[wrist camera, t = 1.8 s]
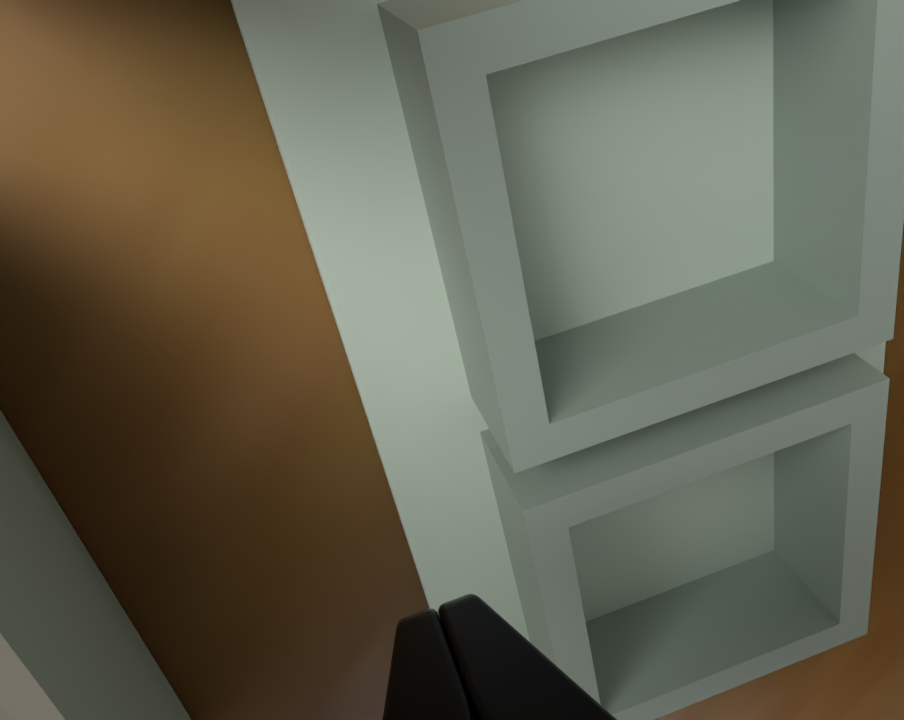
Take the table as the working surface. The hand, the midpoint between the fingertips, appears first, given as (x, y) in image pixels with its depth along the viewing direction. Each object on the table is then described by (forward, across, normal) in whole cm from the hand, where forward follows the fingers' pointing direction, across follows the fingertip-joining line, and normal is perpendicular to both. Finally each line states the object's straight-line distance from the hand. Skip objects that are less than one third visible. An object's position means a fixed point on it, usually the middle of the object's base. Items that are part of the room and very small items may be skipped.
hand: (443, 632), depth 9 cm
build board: (+6, -4, +1) cm, 7 cm away
